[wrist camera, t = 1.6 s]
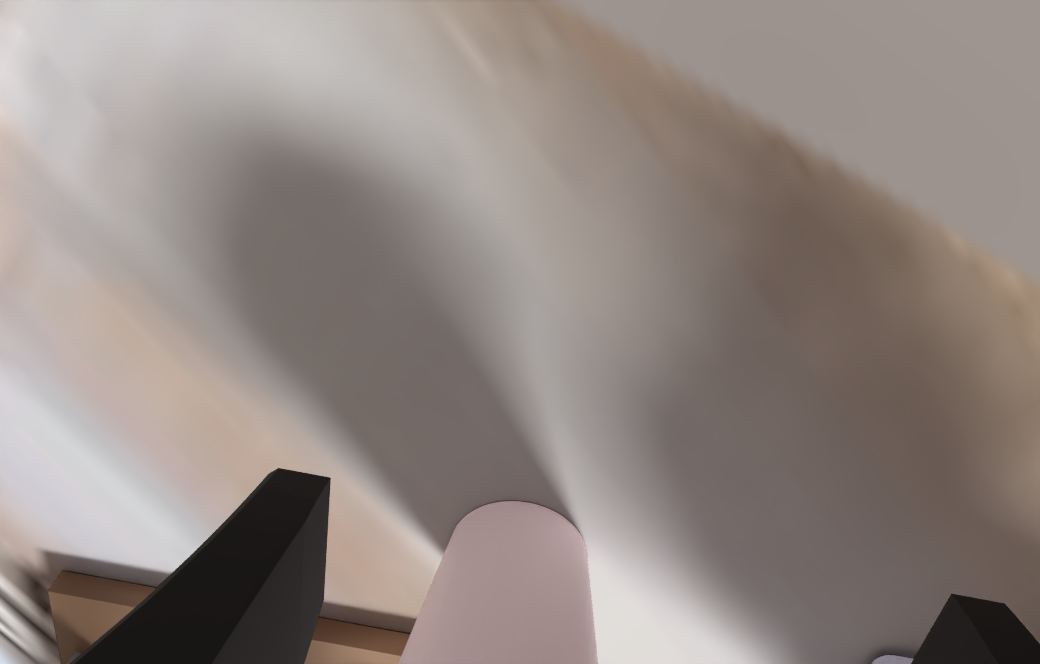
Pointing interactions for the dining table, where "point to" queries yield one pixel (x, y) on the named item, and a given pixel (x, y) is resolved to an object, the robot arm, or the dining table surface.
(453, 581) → the smoothie
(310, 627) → the robot arm
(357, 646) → the open-sided grey tray
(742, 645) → the dining table surface
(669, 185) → the dining table surface
